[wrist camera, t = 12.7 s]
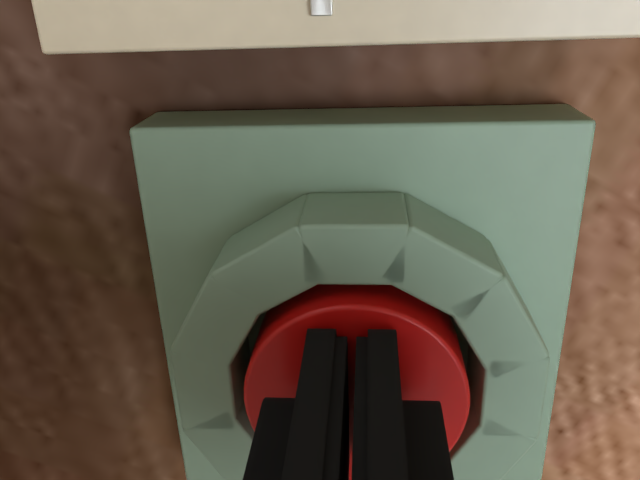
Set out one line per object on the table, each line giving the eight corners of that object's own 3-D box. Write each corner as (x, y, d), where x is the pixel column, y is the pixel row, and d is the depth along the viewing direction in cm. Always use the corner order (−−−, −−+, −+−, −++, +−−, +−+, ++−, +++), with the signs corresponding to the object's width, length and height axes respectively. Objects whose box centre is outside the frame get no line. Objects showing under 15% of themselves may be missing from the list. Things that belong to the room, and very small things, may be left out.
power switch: (521, 464, 16) (558, 581, 13) (205, 454, 17) (167, 563, 14) (569, 102, 12) (638, 144, 9) (155, 111, 13) (87, 152, 10)
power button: (452, 434, 14) (463, 494, 12) (265, 429, 14) (251, 486, 12) (464, 263, 12) (479, 307, 10) (249, 263, 12) (232, 305, 11)
